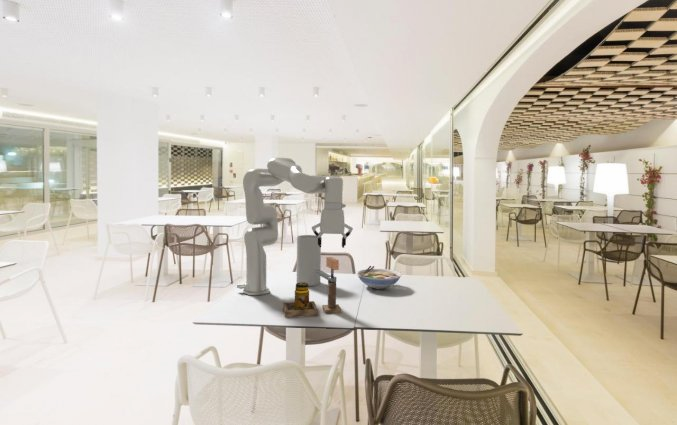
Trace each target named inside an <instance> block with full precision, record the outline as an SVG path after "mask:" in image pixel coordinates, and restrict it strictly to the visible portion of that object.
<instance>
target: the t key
mask: <svg viewBox="0 0 677 425" xmlns="http://www.w3.org/2000/svg"><path fill="white" fill-rule="evenodd" d="M325 258H326V267H327V268H329V269H330V273H327V272H324V271H323V270H319V269H316V270H314V273H316V274H318V275H320V278H323V279H325V280H327V283H328V282H330V283H334V282H336V283H337V276H335V275H334V273H335V272H334V271H339V265H340V264H339V262H340V261H339V259H337V258H335V257H332V256H327V257H325Z"/></svg>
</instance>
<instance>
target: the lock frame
mask: <svg viewBox="0 0 677 425" xmlns="http://www.w3.org/2000/svg"><path fill="white" fill-rule="evenodd" d="M315 302H316V301H314V300H313V301H311V300H309V310H291V309H292V308H293V307H295V301H286V302H282V303H283V304H282V310H283V314H285V315H284V318H285V317H286V318H291V317H290V316H307V317H318V315H319V312H318V311H319V310H318V307H317V305H316V303H315ZM321 309H322V311H323V312H324V314H325V313H326V314H341V313H342V308H341V307H340V304H337V281H336V282H334V283H330V282H328V281H327V304H322V305H321Z"/></svg>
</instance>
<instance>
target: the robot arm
mask: <svg viewBox="0 0 677 425" xmlns="http://www.w3.org/2000/svg"><path fill="white" fill-rule="evenodd" d="M283 182H288V183H289V184H291V186H292V187H293V188H294V189H295V190H297V191H301V192H302V193H305V194H308V195H309V194H311V195H312V194H324V196H323V197H324V200H323V206H324V207H323V209H322V210H321V214H320V221H319V223H317V224H314V225H313V226H311V230H312V232H313V235H316V236H317V237H318V245H319V247H321V248H322V236H323V235H324V234H327V235H342V236H341V248H343V249H345V246H346V245H347V244H346V243H347V238H348V237H349V236H350V235H351V233H352V231H353V230H354V228H353V227H352V226H350V225H348V224H346V223H345V211H344V208H346V204H345V203H343V193H344V192H343V191H344V188H343V186H344V180H343V178H342V177H340V176H327V175H310V174H306V173H303V170H302V166H300V165H298V164H296V161H294V160H293V159H292V158H290V157H289V158H288V157H273V158H271V159H269V161H268V162H267V164H266V168H252V169H249V170H248V171H246V173H245V174H244V176H243V178H242V188H243V191H244V201H245V216H246V221H247V223H248V224H250V225H254V226H255V225H262V226H258V227H257V226H255V227H251V228H249V229H247V230H246V231H245V233H244V235H243V236H244V237H243V241H244V246H245V253H246V254H245V255H246V258H245V259H246V260H245V261H246V264H245V265H246V270H245V271H246V281H245V283H238V284H236V288H237V289H239V290H242V289H243V291H242V292H243V294H244V295H249V296H261V295H266V294H269V293H270V288H269V287H267V253H266V251H265V249H264V247H267V246H271V245H274V244H276V243H277V242H278V239H279V238H278V237H279V223H278V222H279V221H278V213H277V209H276V208H275V207H274V205H272V204H268V203H266V204H265V203H264V195H263V192H262V190H261V189H260V187H276V186H278V185H280V184H282V183H283ZM317 228H319V232H317V230H316V229H317ZM345 228H346V229H348V230H347V232H346V233H345Z"/></svg>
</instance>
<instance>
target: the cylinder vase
mask: <svg viewBox="0 0 677 425" xmlns="http://www.w3.org/2000/svg"><path fill="white" fill-rule="evenodd" d="M321 248H322V246H321V247H319V245H318V237H317V236H316V235H315V234H304V235H297V237H296V284H297V283H300V282H304V283H308V287H316V286H319V285H320V284H321V276H320V275H318V274H316V273H314V270H316V269H319V270H321V267H322V266H321V263H322V262H321V261H322V260H321V259H322V256H321V255H322V252H321V251H322V250H321ZM321 271H322V270H321Z"/></svg>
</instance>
